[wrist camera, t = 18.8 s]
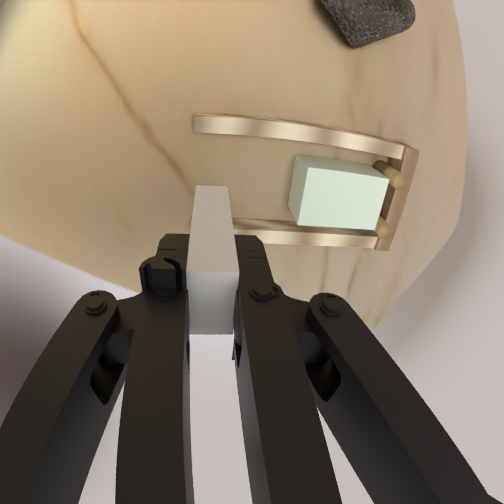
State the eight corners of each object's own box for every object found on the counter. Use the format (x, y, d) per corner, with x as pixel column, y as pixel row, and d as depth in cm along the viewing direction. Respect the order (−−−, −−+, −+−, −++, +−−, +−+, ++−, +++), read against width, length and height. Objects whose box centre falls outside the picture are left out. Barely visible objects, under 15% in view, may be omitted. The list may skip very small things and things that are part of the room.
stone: (298, 23, 24) (356, 74, 22) (294, -36, 16) (370, 5, 14) (362, 9, 24) (420, 55, 22) (369, -43, 15) (441, 1, 13)
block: (287, 204, 33) (297, 225, 28) (295, 153, 29) (308, 167, 25) (356, 210, 34) (374, 230, 30) (368, 164, 31) (389, 179, 26)
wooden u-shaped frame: (192, 229, 33) (188, 253, 29) (196, 113, 26) (191, 119, 22) (378, 238, 36) (395, 259, 32) (405, 144, 29) (430, 156, 25)
